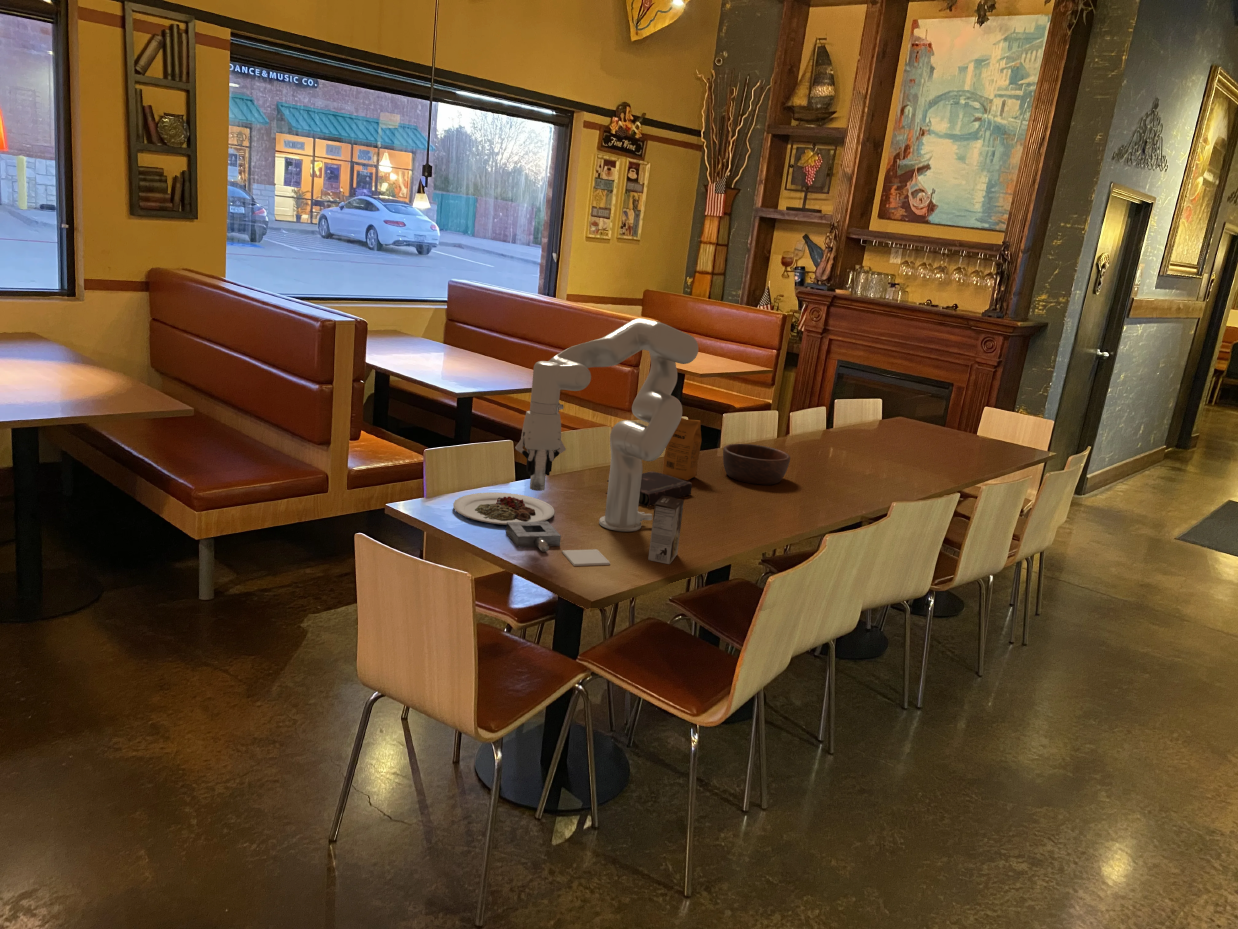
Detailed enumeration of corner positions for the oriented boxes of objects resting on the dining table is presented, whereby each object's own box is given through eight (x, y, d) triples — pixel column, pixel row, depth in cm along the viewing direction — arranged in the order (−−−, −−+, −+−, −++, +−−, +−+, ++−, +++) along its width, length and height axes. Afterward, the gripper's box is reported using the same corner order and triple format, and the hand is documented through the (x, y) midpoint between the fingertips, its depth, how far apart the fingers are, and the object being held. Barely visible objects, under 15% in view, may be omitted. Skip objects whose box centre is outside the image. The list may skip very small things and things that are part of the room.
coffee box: (655, 550, 262) (662, 494, 258) (677, 554, 260) (685, 499, 256) (647, 560, 253) (653, 503, 249) (670, 564, 252) (677, 507, 248)
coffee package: (671, 470, 352) (678, 412, 346) (700, 478, 345) (708, 419, 340) (657, 474, 343) (664, 415, 338) (686, 482, 337) (694, 422, 331)
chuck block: (546, 531, 268) (547, 521, 267) (565, 552, 252) (566, 541, 252) (505, 532, 263) (506, 522, 262) (522, 553, 248) (523, 542, 247)
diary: (691, 496, 321) (693, 482, 320) (648, 508, 302) (650, 493, 301) (647, 483, 332) (649, 469, 331) (603, 494, 312) (605, 479, 311)
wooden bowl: (707, 475, 350) (711, 448, 348) (739, 465, 370) (742, 440, 368) (768, 491, 337) (772, 463, 334) (797, 480, 357) (801, 454, 355)
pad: (596, 551, 256) (597, 549, 256) (609, 564, 247) (610, 562, 247) (562, 552, 252) (562, 550, 252) (573, 566, 243) (574, 563, 243)
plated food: (458, 529, 262) (459, 517, 262) (448, 497, 290) (448, 486, 289) (563, 530, 271) (564, 519, 270) (543, 499, 299) (544, 489, 298)
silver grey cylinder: (542, 486, 259) (545, 444, 256) (546, 490, 255) (550, 447, 252) (528, 486, 257) (531, 443, 254) (532, 490, 254) (535, 447, 251)
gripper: (569, 406, 257) (563, 470, 262) (510, 404, 251) (504, 470, 256) (578, 412, 251) (571, 478, 255) (517, 410, 244) (512, 478, 249)
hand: (538, 473), depth 255 cm, fingers closed on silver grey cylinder, 4 cm apart
